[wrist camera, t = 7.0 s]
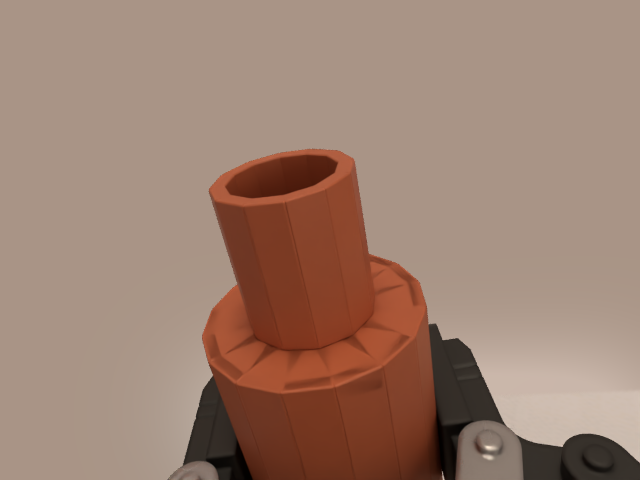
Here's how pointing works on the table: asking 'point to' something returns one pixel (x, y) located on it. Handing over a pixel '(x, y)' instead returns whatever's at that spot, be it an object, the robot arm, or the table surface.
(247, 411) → the terracotta bottle
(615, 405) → the table surface
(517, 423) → the table surface
